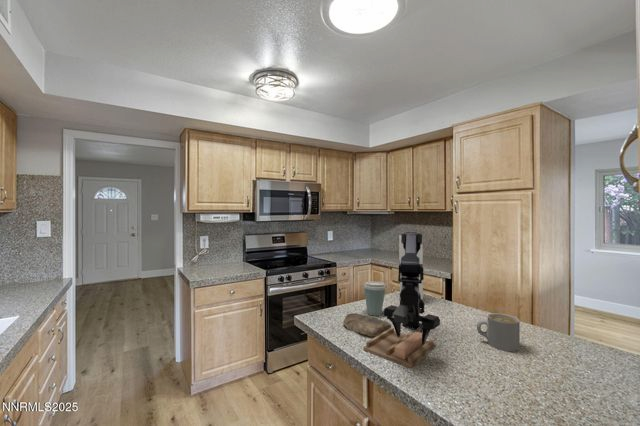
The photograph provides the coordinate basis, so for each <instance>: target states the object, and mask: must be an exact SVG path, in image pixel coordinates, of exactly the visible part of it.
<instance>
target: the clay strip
mask: <svg viewBox="0 0 640 426" xmlns="http://www.w3.org/2000/svg"><path fill="white" fill-rule="evenodd" d="M421 346H422V333H421V332H418V331H415V332H413V334H412V335H411V336H409V337H408V338H407V339H405V340H404V341H402V342H401V343H399V344H398V345H396V346H395V356H397V357H400V358H403V359H406V358H407V357H408V356H409V355H411V354H412V353H413V352H414V351H416V350H417V349H418V348H419V347H421Z"/></svg>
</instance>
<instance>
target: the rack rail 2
mask: <svg viewBox="0 0 640 426" xmlns="http://www.w3.org/2000/svg"><path fill="white" fill-rule="evenodd" d="M434 340H435V339H433V338H431V339H429V340H427V341H428V342H427V343H425V344H424V345H423V346H422V347H420V348H419V349H418V350H417V351H415V352H414V353H413V354H412V355H410V356H409V357H408V363H412V362H413V361H414V360H416V359H417V358H418V357H419V356H420V355H422V354H423V353H424V352H425V351H426V350H427V349H429V348H430V347H431V346H432V345H433V344H434V343H435V341H434Z"/></svg>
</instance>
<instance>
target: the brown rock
mask: <svg viewBox="0 0 640 426" xmlns="http://www.w3.org/2000/svg"><path fill="white" fill-rule="evenodd" d="M342 323H343V326H345V327H346V329H347V330H350V331H351V332H353V333H356V334H361V335H365V336H368V337H371V338H372V337H373V338H375V337H376V336H378V335H380V334H381V333H383V332H385V331H386V330H388V329H390V328H391V327H393V324H392V323H390V322H389V321H387V320H386V321H385V320H382V319H379V318H377V317H375V316H371V315H363V314H361V313H347V314H346V316H345V318H344V319H343V321H342Z"/></svg>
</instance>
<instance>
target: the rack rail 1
mask: <svg viewBox="0 0 640 426" xmlns="http://www.w3.org/2000/svg"><path fill="white" fill-rule="evenodd" d="M394 331H395V328H394V326H391V328H390V329H388V330H386V331H385V332H383V333H381V334H380V335H378V336H374V337H373V338H371V339H369V340H368V341H366V343H365V344H366V345H365V346H366V347H368V348H369V347H371V346H372V345H374V344H375V343H377V342H379V341H380V340H382V339H384V338H385V337H387V336H388V335H390V334H392V333H393V332H394Z"/></svg>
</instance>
